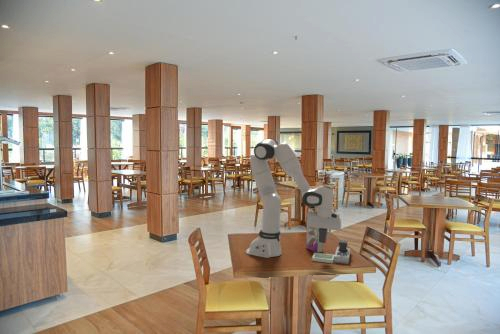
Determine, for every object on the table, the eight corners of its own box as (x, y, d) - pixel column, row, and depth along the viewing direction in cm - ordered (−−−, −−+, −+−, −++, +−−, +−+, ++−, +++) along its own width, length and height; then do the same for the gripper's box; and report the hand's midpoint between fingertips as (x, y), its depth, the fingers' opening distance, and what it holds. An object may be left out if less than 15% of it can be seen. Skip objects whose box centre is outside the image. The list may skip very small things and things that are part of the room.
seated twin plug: (338, 255, 210) (338, 242, 209) (339, 252, 214) (339, 240, 214) (346, 255, 208) (347, 243, 208) (347, 253, 213) (347, 240, 212)
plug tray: (312, 261, 201) (312, 257, 201) (314, 256, 211) (314, 252, 211) (332, 264, 198) (333, 260, 197) (334, 258, 207) (334, 254, 207)
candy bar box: (305, 248, 226) (306, 224, 225) (311, 247, 229) (311, 223, 228) (317, 253, 217) (317, 228, 216) (322, 252, 219) (323, 227, 218)
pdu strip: (334, 263, 199) (334, 255, 199) (337, 253, 218) (337, 245, 218) (348, 265, 196) (348, 257, 196) (350, 254, 216) (350, 247, 215)
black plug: (317, 242, 202) (318, 229, 202) (318, 240, 207) (319, 227, 206) (326, 243, 201) (327, 230, 200) (326, 241, 205) (327, 228, 205)
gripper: (306, 211, 203) (304, 234, 204) (341, 215, 196) (339, 239, 197) (307, 210, 209) (306, 232, 210) (342, 213, 202) (340, 236, 203)
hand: (322, 235), depth 204 cm, fingers closed on black plug, 4 cm apart
